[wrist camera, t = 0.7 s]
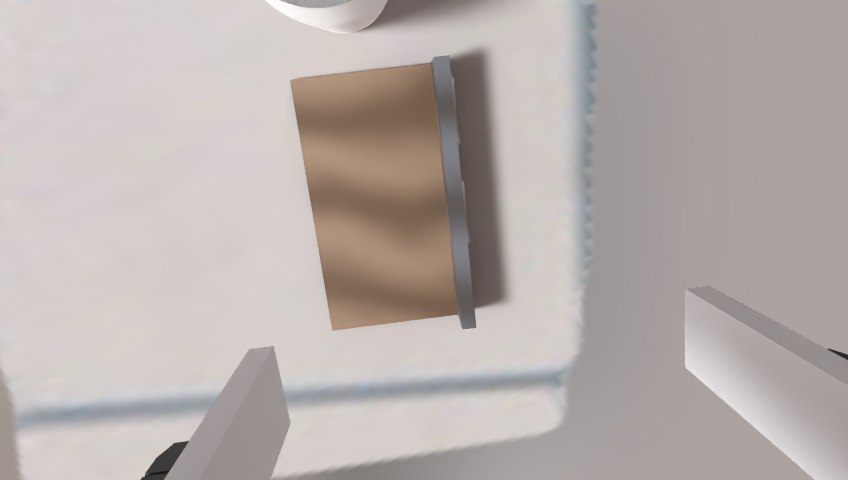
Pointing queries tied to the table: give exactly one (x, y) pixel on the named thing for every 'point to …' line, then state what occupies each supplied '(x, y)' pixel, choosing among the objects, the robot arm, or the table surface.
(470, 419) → the table surface
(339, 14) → the cup
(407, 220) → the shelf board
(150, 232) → the table surface
